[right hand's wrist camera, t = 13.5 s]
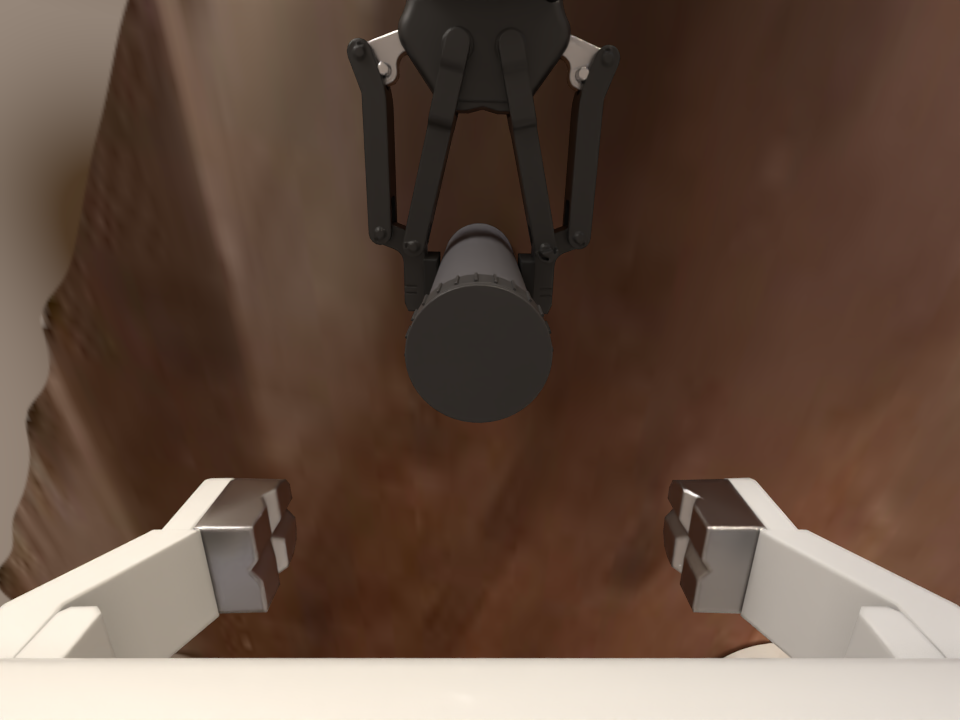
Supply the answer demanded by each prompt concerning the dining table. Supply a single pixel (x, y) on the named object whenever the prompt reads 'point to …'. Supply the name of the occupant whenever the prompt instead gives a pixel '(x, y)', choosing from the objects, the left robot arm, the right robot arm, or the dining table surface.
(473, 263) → the dark grey cylinder
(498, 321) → the lid
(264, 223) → the dining table surface
